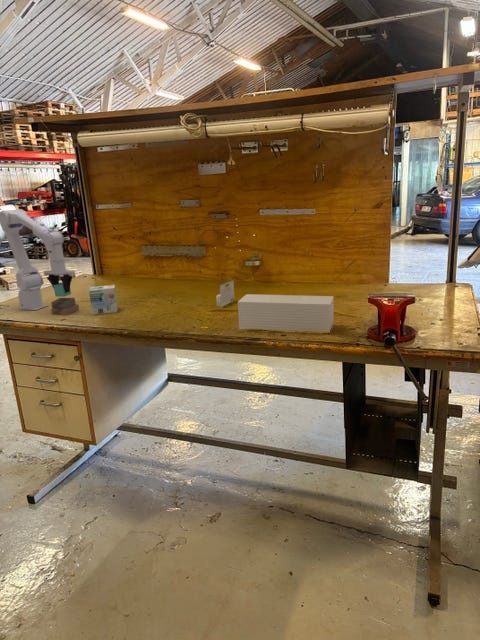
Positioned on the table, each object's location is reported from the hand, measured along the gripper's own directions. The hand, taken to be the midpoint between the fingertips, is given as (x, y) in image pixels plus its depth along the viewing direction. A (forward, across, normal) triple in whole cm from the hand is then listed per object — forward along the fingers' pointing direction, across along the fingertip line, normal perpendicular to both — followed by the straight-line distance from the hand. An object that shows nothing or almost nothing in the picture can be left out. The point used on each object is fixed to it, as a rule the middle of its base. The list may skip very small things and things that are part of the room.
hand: (62, 292), depth 195 cm
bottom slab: (+9, 0, 0) cm, 9 cm away
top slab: (+6, 0, 0) cm, 6 cm away
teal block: (+2, 0, 0) cm, 2 cm away
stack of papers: (+10, -100, +7) cm, 100 cm away
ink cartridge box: (+9, -67, -21) cm, 71 cm away
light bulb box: (+9, -18, -3) cm, 20 cm away
